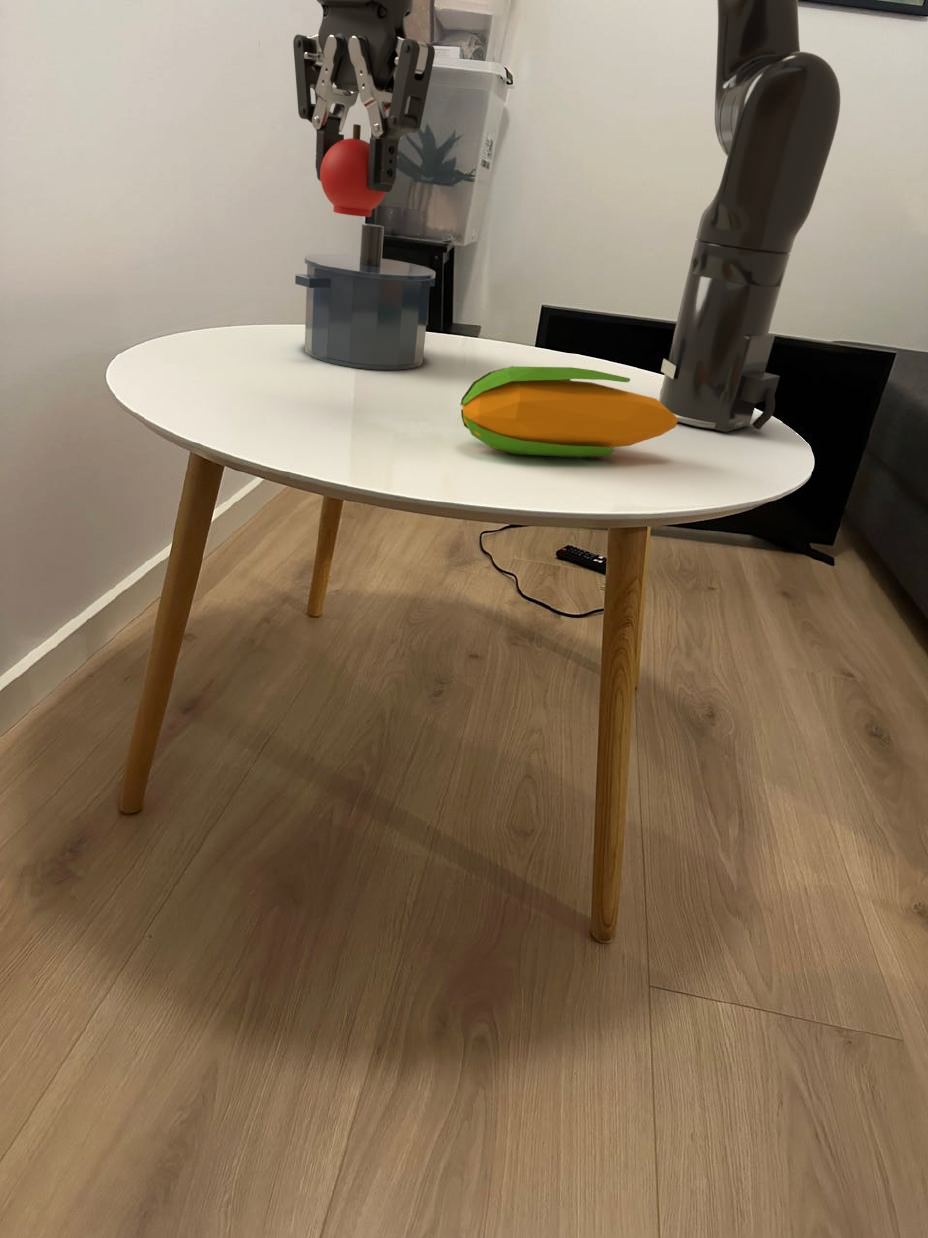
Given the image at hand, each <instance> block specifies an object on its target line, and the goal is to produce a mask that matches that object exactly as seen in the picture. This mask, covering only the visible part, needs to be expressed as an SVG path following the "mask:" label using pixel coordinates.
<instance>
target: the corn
mask: <svg viewBox="0 0 928 1238" xmlns="http://www.w3.org/2000/svg"><path fill="white" fill-rule="evenodd" d="M579 380H580V381H579ZM581 380H582V381H581ZM583 380H591V381H583ZM592 380H595V381H596V380H597V381H598V380H599V381H611V382H619V383H620V382H621V383H630V381H631V378H630V377H626V376H620V375H616V374H612V373H607V372H603V371H599V370H594V369H586V368H580V367H572V366H571V367H570V366H568V367H567V366H566V367H565V366H561V367H560V366H512V365H511V366H509V367H504V368H500V369H497V370H493V371H490V372H488V373H486V374H484V375H482V377H480V378H478V379H476V380H475V381H473V382H472V383H471V385H470V386H469V388H468V389H467V391H466V392H465V393H464V394H463V396H462V397H461V401H460V403H459V406H461V407H462V408H461V409H460V413H461V415H460V416H461V420H462V423H463V427H465V428H466V429H467V430H468V431H469V433H470V434H471V436H473V437H474V438H476V439H478V440H479V441H480V442H482V443H483V444H485V445H486V446H488V447H490V448H491V449H495V450H498V451H502V452H505V453H508V454H512V455H521V456H543V457H544V456H545V457H566V458H590V457H603V456H609V455H612V454H613V452H614V450H613V449H612V448H619V447H620V448H621V447H629V446H632V445H636V444H638V443H642V442H644V441H647V440H651V439H654V438H657V437H660V436H662V435H664V434H666V433H667V432H670V431H671V430H673V429H675V428H676V427H677V424H678V423H679V422H678V418H677V417H676V416H675V415H674V414H673V413H671V412H670V411H669V410H668V409H667V408H666V407H665V406H664V405H663V404H661V403H660V402H659V399H657V398H654V397H651V396H646V395H643V394H639V393H634V392H631V391H628V390H624V389H619V388H615V387H611V386H607V385H603V384H599V383H595V382H592Z"/></svg>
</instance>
